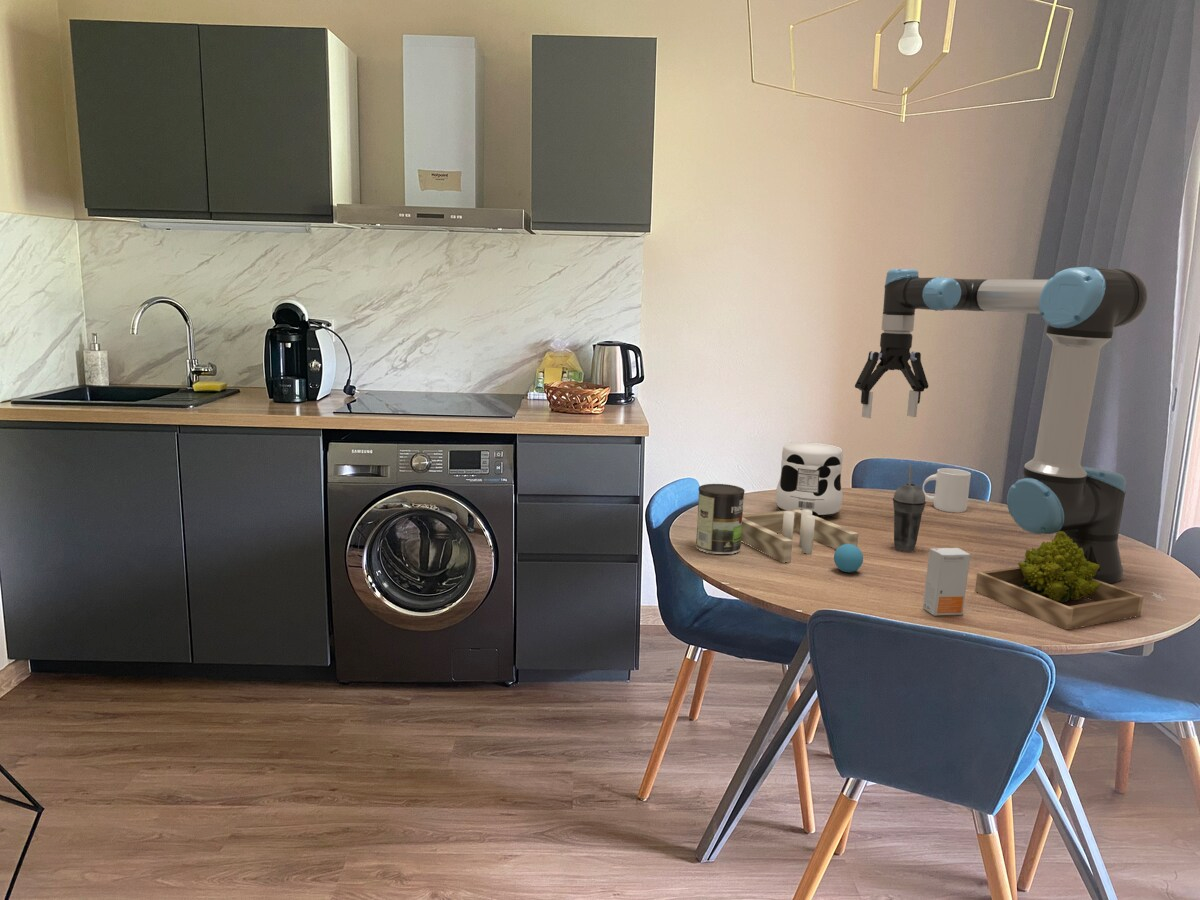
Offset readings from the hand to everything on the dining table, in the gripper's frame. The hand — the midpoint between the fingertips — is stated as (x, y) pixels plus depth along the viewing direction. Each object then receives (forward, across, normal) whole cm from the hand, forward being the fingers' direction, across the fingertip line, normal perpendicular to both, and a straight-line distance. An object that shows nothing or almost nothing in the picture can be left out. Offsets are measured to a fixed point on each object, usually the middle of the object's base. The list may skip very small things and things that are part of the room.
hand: (889, 417), depth 221 cm
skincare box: (+28, +27, +57) cm, 69 cm away
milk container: (+28, +14, -12) cm, 33 cm away
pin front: (+28, +33, +19) cm, 47 cm away
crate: (+28, +2, +59) cm, 65 cm away
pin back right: (+28, +31, +14) cm, 44 cm away
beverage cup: (+28, +9, +21) cm, 36 cm away
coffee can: (+28, +52, +11) cm, 60 cm away
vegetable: (+28, 0, +56) cm, 63 cm away
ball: (+25, +32, +33) cm, 52 cm away
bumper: (+28, +34, +13) cm, 45 cm away
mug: (+28, -28, -9) cm, 40 cm away
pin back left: (+28, +36, +14) cm, 48 cm away
